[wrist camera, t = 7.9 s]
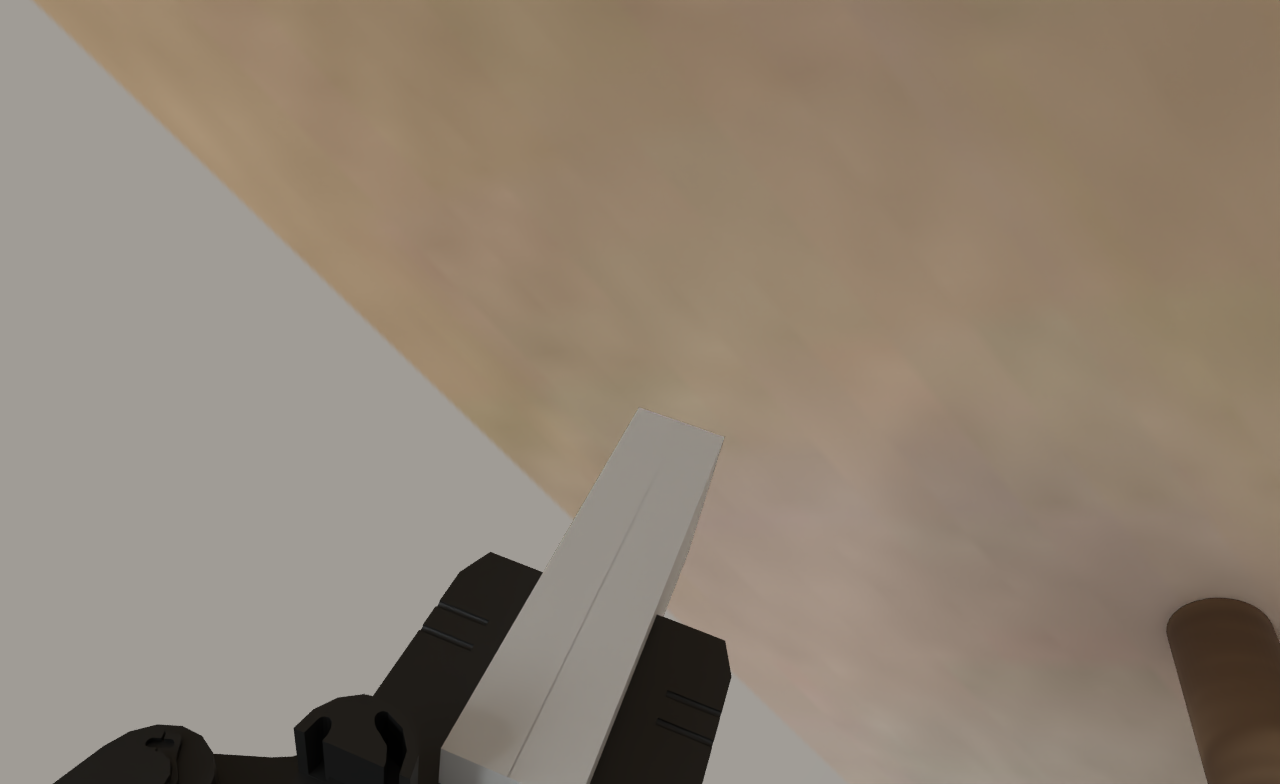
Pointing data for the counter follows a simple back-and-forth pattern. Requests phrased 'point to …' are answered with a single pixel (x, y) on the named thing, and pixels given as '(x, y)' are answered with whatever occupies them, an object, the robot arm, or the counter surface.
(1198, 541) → the counter surface
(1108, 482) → the counter surface
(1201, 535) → the counter surface
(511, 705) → the robot arm
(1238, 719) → the outer post
